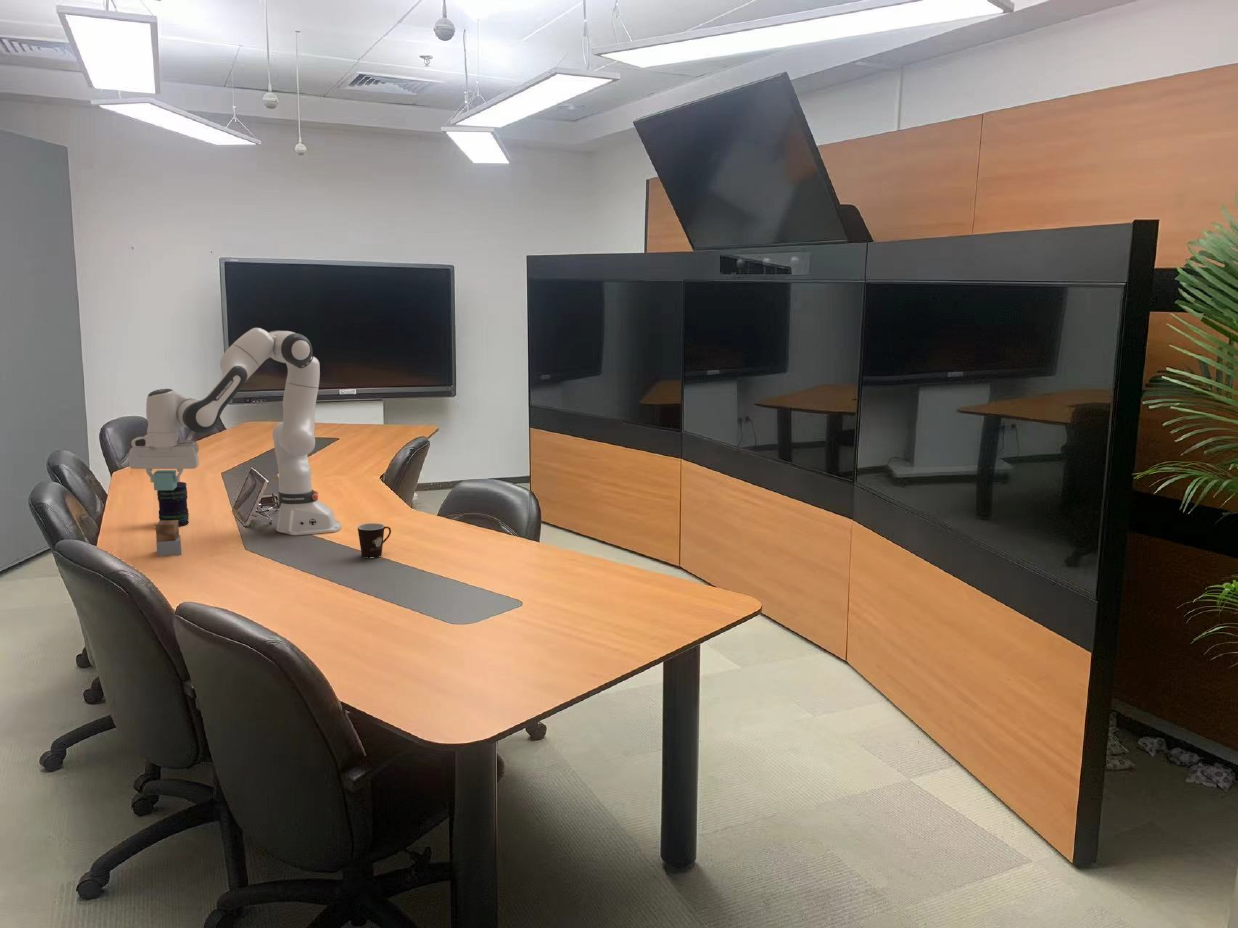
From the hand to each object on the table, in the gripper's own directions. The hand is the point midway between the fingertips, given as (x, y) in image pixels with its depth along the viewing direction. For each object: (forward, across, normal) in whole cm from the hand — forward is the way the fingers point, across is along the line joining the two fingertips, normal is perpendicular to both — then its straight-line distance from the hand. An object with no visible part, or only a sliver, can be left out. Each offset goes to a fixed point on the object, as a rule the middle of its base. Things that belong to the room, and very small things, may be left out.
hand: (165, 482), depth 292 cm
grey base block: (+24, 0, 0) cm, 24 cm away
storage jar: (+24, +7, -37) cm, 45 cm away
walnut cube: (+19, 0, 0) cm, 19 cm away
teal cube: (+2, 0, 0) cm, 2 cm away
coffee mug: (+23, -66, +12) cm, 71 cm away
